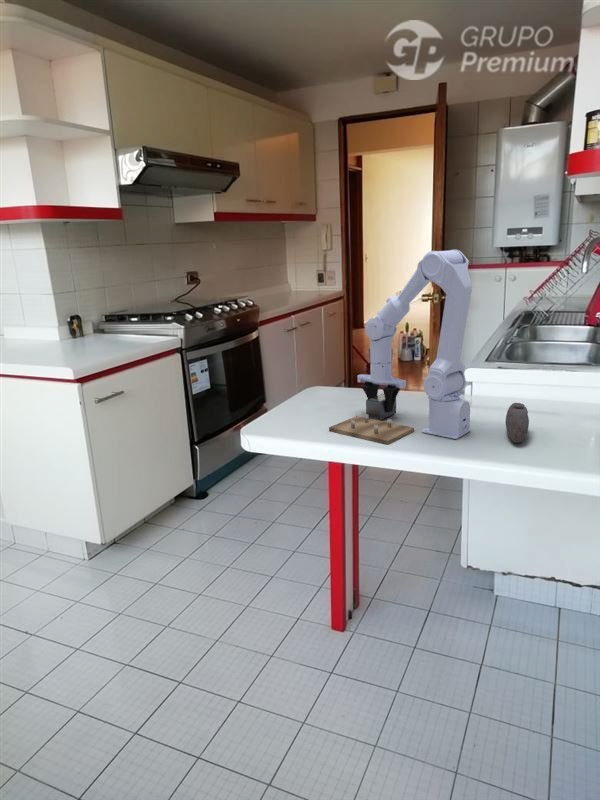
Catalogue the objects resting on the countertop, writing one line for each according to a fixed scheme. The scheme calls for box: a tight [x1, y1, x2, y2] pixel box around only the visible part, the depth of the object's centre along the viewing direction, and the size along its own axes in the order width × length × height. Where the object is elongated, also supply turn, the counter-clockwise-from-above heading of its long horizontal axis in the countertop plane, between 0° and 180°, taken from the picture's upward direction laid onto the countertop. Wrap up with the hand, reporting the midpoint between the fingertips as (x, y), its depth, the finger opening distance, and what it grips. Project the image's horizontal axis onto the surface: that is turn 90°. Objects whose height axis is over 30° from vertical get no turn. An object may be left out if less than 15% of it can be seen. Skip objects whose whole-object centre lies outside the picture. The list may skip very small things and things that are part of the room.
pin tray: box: [328, 413, 415, 446], centre depth 144 cm, size 18×12×3 cm, turn 48°
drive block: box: [365, 393, 397, 421], centre depth 155 cm, size 4×8×5 cm, turn 138°
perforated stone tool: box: [505, 402, 530, 444], centre depth 134 cm, size 15×5×7 cm, turn 159°
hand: (381, 410), depth 155 cm, fingers closed on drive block, 4 cm apart
